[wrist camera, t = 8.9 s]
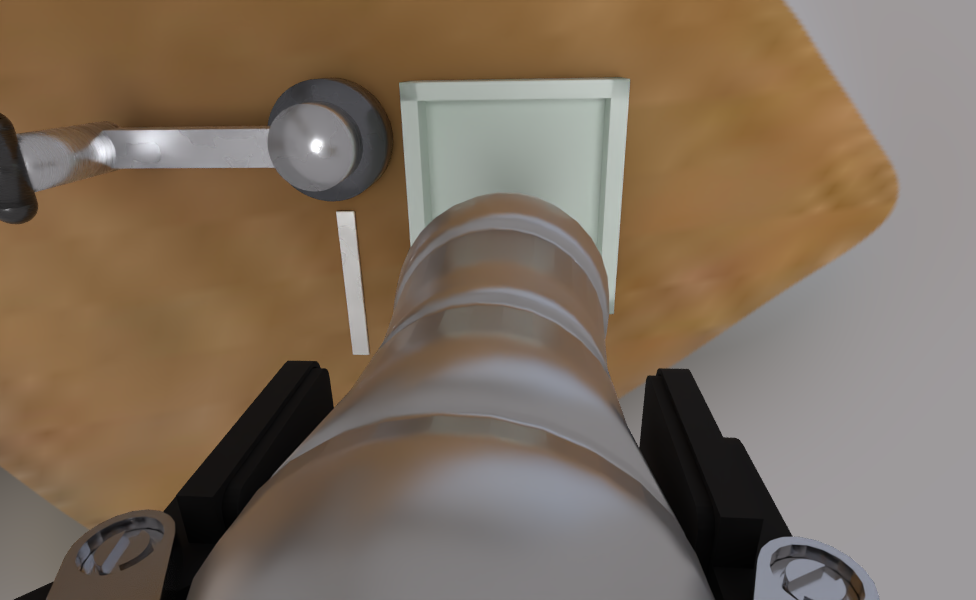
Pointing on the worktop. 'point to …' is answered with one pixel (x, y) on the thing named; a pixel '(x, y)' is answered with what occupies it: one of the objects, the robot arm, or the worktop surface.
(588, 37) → the worktop surface
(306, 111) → the crank
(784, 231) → the worktop surface
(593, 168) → the tray
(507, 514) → the metal bottle
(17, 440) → the worktop surface
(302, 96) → the crank base
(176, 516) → the robot arm
